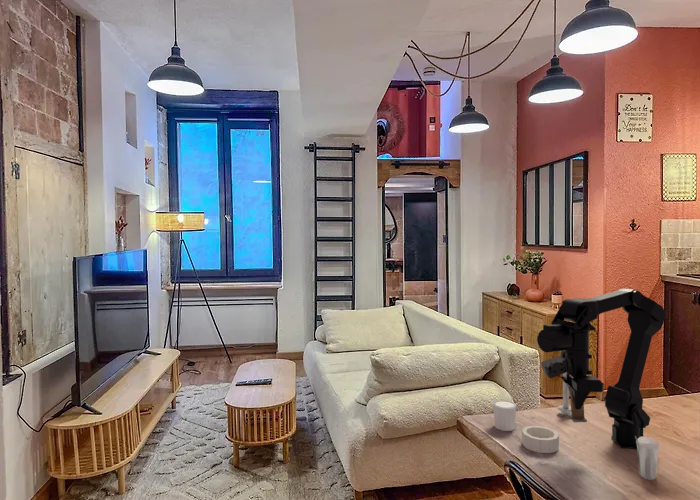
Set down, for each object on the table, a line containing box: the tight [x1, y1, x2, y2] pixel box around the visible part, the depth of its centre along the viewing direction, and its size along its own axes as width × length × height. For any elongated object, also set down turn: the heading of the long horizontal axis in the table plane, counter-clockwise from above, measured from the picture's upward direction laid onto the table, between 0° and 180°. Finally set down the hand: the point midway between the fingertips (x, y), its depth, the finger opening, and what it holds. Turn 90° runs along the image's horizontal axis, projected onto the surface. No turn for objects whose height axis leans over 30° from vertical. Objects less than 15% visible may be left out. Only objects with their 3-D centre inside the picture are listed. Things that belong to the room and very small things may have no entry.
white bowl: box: [521, 425, 560, 454], centre depth 129 cm, size 9×9×4 cm
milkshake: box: [635, 436, 660, 481], centre depth 112 cm, size 4×5×10 cm
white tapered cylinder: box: [492, 400, 518, 432], centre depth 142 cm, size 7×7×7 cm
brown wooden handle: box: [568, 387, 588, 423], centre depth 123 cm, size 3×3×9 cm
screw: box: [557, 380, 571, 417], centre depth 150 cm, size 13×5×5 cm
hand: (576, 408), depth 123 cm, fingers closed on brown wooden handle
